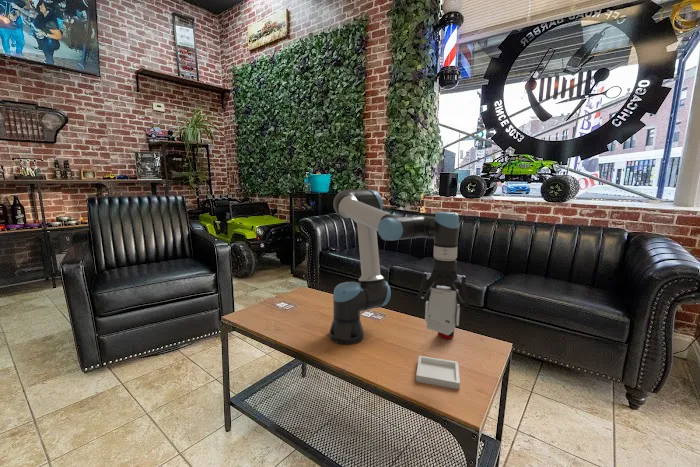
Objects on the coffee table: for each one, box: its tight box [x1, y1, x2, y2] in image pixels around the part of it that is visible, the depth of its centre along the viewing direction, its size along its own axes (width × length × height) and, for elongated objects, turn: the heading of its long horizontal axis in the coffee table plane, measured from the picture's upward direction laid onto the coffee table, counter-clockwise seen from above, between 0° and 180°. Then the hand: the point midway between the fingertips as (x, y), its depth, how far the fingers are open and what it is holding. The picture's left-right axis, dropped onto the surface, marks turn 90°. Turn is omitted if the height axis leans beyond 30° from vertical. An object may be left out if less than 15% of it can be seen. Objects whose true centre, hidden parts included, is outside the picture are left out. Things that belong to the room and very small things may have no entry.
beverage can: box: [437, 330, 455, 340], centre depth 136 cm, size 7×7×12 cm
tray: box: [415, 355, 461, 390], centre depth 109 cm, size 14×13×2 cm
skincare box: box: [426, 285, 460, 335], centre depth 105 cm, size 8×6×15 cm
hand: (441, 322), depth 106 cm, fingers closed on skincare box, 10 cm apart
